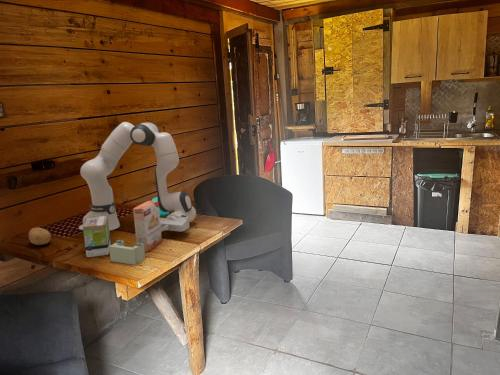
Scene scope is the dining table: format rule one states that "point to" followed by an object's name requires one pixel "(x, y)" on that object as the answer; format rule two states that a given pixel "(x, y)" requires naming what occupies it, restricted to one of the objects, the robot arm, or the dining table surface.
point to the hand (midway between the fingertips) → (158, 229)
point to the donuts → (159, 208)
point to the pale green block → (127, 253)
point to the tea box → (96, 236)
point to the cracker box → (147, 224)
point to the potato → (39, 236)
